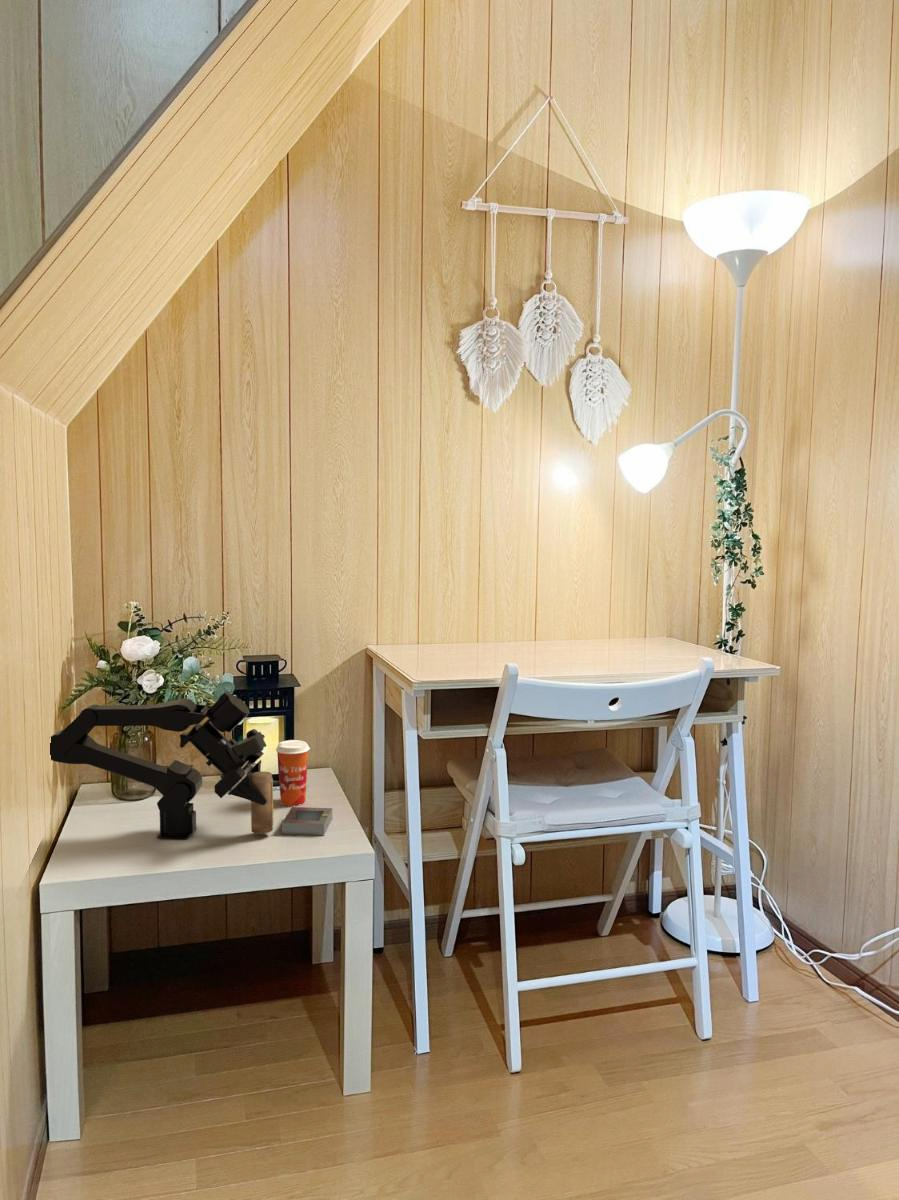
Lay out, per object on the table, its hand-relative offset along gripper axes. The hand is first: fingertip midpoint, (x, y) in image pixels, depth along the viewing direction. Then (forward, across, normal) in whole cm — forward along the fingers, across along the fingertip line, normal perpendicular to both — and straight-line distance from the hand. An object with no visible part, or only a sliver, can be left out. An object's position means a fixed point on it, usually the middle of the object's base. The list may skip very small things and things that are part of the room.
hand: (268, 799), depth 197 cm
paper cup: (+6, +22, +5) cm, 23 cm away
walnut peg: (+4, 0, +6) cm, 7 cm away
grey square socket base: (+11, +6, 0) cm, 12 cm away
